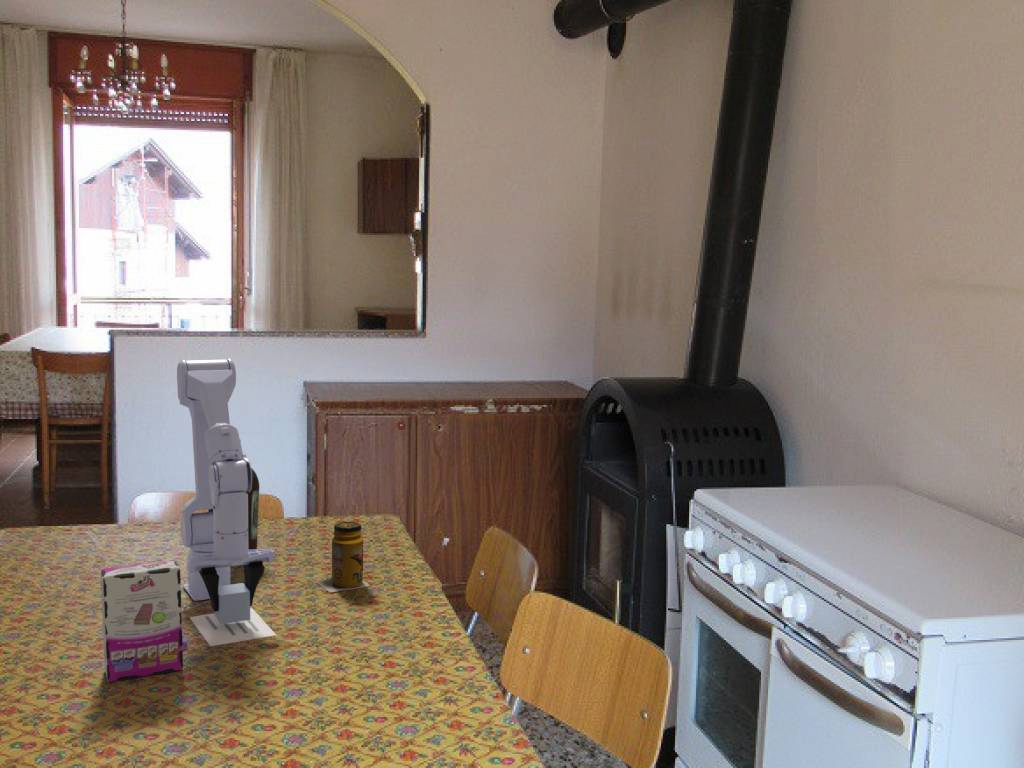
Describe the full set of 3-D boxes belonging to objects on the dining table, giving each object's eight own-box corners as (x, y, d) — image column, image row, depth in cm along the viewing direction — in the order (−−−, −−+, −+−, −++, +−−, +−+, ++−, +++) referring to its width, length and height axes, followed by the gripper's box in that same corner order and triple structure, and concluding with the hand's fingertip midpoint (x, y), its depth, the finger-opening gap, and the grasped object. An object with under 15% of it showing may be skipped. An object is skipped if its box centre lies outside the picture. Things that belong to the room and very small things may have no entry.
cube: (214, 614, 179) (213, 586, 179) (243, 610, 182) (242, 582, 181) (220, 624, 175) (219, 595, 174) (250, 619, 177) (249, 591, 177)
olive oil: (206, 565, 212) (204, 445, 209) (209, 550, 222) (207, 435, 219) (259, 563, 214) (258, 444, 211) (260, 548, 225) (259, 435, 222)
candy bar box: (178, 659, 164) (176, 558, 162) (184, 670, 159) (182, 567, 157) (102, 671, 159) (99, 567, 157) (106, 683, 154) (103, 576, 152)
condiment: (370, 586, 201) (371, 526, 200) (330, 593, 197) (330, 532, 195) (354, 576, 207) (355, 517, 206) (315, 582, 203) (315, 523, 201)
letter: (189, 617, 182) (189, 617, 182) (251, 608, 188) (251, 607, 188) (210, 646, 169) (210, 645, 169) (276, 635, 175) (276, 634, 175)
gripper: (192, 540, 169) (194, 620, 171) (279, 530, 177) (280, 607, 178) (183, 530, 175) (184, 607, 177) (267, 521, 183) (268, 595, 184)
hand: (231, 607), depth 178 cm, fingers closed on cube, 5 cm apart
